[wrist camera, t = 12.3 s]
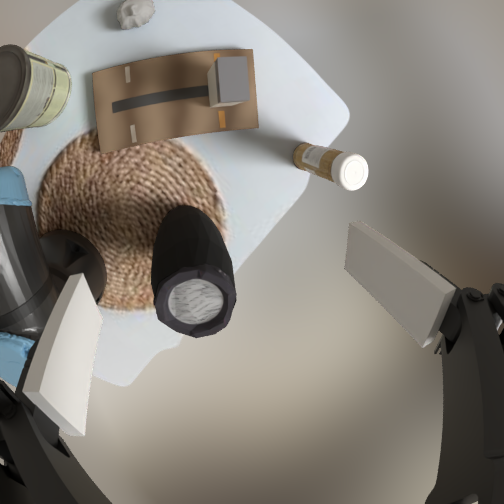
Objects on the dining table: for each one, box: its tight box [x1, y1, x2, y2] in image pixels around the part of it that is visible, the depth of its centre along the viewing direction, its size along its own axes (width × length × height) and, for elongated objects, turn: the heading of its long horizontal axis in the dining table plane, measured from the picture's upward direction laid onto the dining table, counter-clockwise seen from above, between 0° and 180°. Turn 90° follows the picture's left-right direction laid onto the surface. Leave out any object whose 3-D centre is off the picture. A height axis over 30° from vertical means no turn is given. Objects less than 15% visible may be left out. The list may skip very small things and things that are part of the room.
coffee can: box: [0, 45, 72, 132], centre depth 19 cm, size 10×10×14 cm
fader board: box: [92, 49, 259, 154], centre depth 31 cm, size 22×12×2 cm, turn 94°
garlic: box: [117, 0, 155, 30], centre depth 22 cm, size 6×5×5 cm
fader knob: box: [207, 56, 250, 108], centre depth 27 cm, size 3×5×9 cm, turn 4°
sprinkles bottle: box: [293, 143, 368, 190], centre depth 35 cm, size 5×5×14 cm
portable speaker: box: [151, 206, 236, 338], centre depth 32 cm, size 9×9×20 cm
